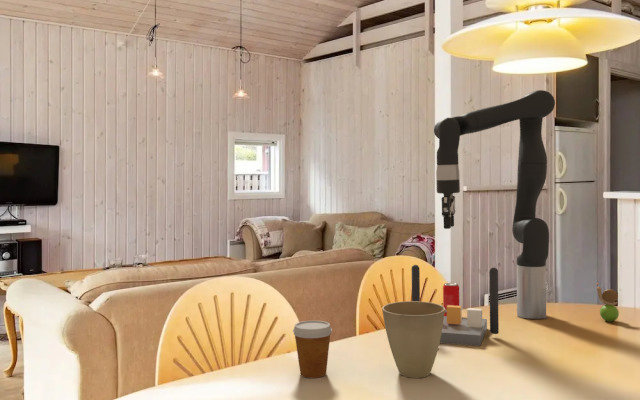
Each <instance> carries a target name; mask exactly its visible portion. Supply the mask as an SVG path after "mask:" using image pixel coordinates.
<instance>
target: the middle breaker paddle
mask: <svg viewBox="0 0 640 400" xmlns="http://www.w3.org/2000/svg"><path fill="white" fill-rule="evenodd" d="M462 313H463V312H462V305H459V306H453V305H448V306H447V324H461V323H462Z"/></svg>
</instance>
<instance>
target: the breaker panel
mask: <svg viewBox="0 0 640 400" xmlns="http://www.w3.org/2000/svg"><path fill="white" fill-rule="evenodd" d="M466 313H467V316H466V317H462V323H461V324H447V316H444V320H443V328H442V334H441V339H440V343H439V344H449V345H450V344H452V345H461V346H462V345H463V346H473V347H474V346H475V347H480V346H481V344H482V343H483V340H484V337H485V334H486V332H487V329H488V318H483V308H473V307H471V308H470V307H468V308H467V310H466Z"/></svg>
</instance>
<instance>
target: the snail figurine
mask: <svg viewBox="0 0 640 400" xmlns="http://www.w3.org/2000/svg"><path fill="white" fill-rule="evenodd" d="M598 285H599V283H598V282H597V283H596V291H597V295H598V299H599V300H600V302H601V303H602V304H604V305H603V306H601V308H600V310H599V315H600V317H601V319H602V320H604V321H605V322H614V321H616V320H617V319H618V317H619V314H620V312H619V309H618V308H617V307H616V305H618V304H619V302H618V301H617V300H618V298H619V296H618V295H619V294H618V293H617V291H616V290H614V289H610V288H607V289H605V290H603V292H602V288H601V286H598Z"/></svg>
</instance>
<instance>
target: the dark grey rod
mask: <svg viewBox="0 0 640 400" xmlns="http://www.w3.org/2000/svg"><path fill="white" fill-rule="evenodd" d="M420 272H421V271H420V266H419V265H418V264H413V265H412V266H411V301H420V302H421V294H420V293H421V292H420V291H421V289H420V288H421V284H420V282H421V281H420V280H421V277H420Z"/></svg>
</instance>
